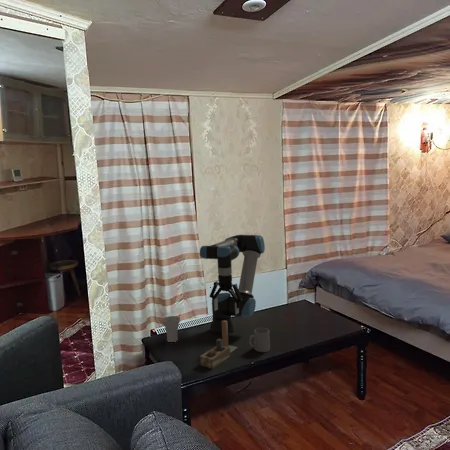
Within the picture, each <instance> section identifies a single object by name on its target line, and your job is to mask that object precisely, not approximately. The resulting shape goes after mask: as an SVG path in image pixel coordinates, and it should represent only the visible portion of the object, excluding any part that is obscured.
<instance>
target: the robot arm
mask: <svg viewBox="0 0 450 450" xmlns="http://www.w3.org/2000/svg"><path fill="white" fill-rule="evenodd" d="M265 249H266V246H265V241H264V237H263V236H262V235H257V234H236V235H232V236H229V237H227V238H225V239H224V240H223V241H220V242H217V243H214V244H211V245H202V246H201V247H200V249H199V257H200V258H201V259H203V260H204V259H206V260H217V274H218V275H217V277H218V278H217V279H218V281H214V282H213V287H212V289H211V292H210V293H209V298H211V306H212V307H211V312H212V321H211V324H210V333H211V334H213V335H218V336H219V335H220V336H222V321H224V320H226V321H227V324H228V335H229V334H232V333H234V332H235V324H234V322H233V319H232V317H238V318H239V317H241V318H251V317H252V316H253V315H254V313H255V310H256V303H257V302H256V298H255V297H254V295H253V288H254V282H255V276H256V275H255V274H256V271H257V270H256V269H257V264H258V259H259V258H260V257H261V254H264V253H265ZM240 253H242V255H243V263H242V268H241V273H240V277H239V278H240V279H239V284H238V283H235V284H234V283H233V275H232V274H233V270H232V269H233V268H232V261H234V260H236V259H237V258H238V257H239V255H240ZM218 287H219V288H218ZM216 290H217V291H216ZM221 292H222V293H221Z"/></svg>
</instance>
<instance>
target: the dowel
mask: <svg viewBox="0 0 450 450" xmlns="http://www.w3.org/2000/svg"><path fill="white" fill-rule="evenodd" d="M221 339H222V344H223V346H225V347H228V345H229V334H228V324H227V321H226V320H224V321H222V335H221Z"/></svg>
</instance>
